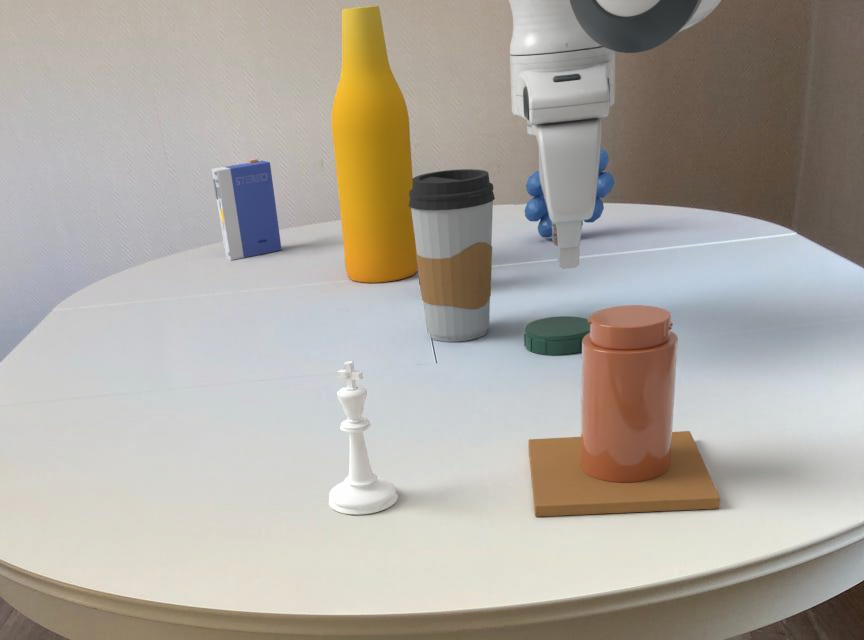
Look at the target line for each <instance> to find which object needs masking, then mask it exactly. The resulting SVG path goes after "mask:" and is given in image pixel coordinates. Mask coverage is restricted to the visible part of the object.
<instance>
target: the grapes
mask: <svg viewBox="0 0 864 640" xmlns="http://www.w3.org/2000/svg"><path fill="white" fill-rule="evenodd" d="M609 161H610V159H609V154H608V152H607V151H606V150H605V149H603V148H600V160H599V172H598V183H597V193H596V200H595V207H594V211H593V215H592V217H591V218H590V219H588V220H582V226H583V225H584V222H585V223H594V222H595V221H597V220H598V219H600V218H601V216H602V213H603V211H604V209H605V207H604V202H603V200H602V199H603V198H605V197H606V196H608V195H609V194H611V192H612V190H613V187H614V185H615V178H614V176H613V174H611V173H610V172H608V171H605V170H606V169H607V166H608V164H609ZM525 188H526V192H527V194H528V195H529V196H530V197H532V198H531V199H530V200H528V202H526V205H525V208H524V216H525V218H526V220H527V221H529V222H538V224H537V233H538V234H539V236H540V237H542V238H544V239H545V238H546V239H547V238H552V221H551V220H550V217H549V213H548V209H547V205H546V202H545V198H544V194H543V191H542V187H541V183H540V177H539V170H537V171H535V172H533V173H532V174H531V175H529V176H528V179H527V181H526V185H525ZM601 198H602V199H601Z"/></svg>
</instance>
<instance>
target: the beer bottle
mask: <svg viewBox="0 0 864 640" xmlns="http://www.w3.org/2000/svg"><path fill="white" fill-rule="evenodd" d="M382 21H383V20H382V15H381V11H380V6H379V5H370V6H359V7H350V8H349V7H348V8H343V9H341V72H340V78H339V80H338V85H337V87H336V91H335V94H334V98H333V103H332V108H331V121H330V122H331V134H332V141H333V142H332V143H333V153H334V163H335V172H336V173H335V174H336V181H337V182H336V183H337V192H338V201H339V213H340V221H341V230H342V240H343V241H342V242H343V254H344V255H343V256H344V266H345V272H346V275H347V276H348V278H349V279H350V280H351V281H353V282H358V283H365V284H366V283H367V284H375V283H378V284H379V283H387V282H396V281H399V280H404V279H407V278H409V277H413V276H414V275H415V274H416V273H417V272H418V265H417V257H416V242H415V235H414V227H413V219H412V211H411V207H409V200H410V197H409V191H410V190H412V183H413V178H414V177H413V162H412V146H411V133H410V130H411V129H410V116H409V111H408V106H407V103H406V99H405V97H404V95H403V92H402V90H401V87H400V85H399V84H398V82H397V80H396V77H395V75H394V74H393V71H392V69H391V65H390V61H389V55H388V51H387V45H386V40H385V33H384V27H383V22H382Z"/></svg>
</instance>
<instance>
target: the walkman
mask: <svg viewBox="0 0 864 640" xmlns="http://www.w3.org/2000/svg"><path fill="white" fill-rule="evenodd" d="M211 173H212V178H213V179H212V183H213V189H214V196H215V200H216V205H217V210H218V216H219V222H220V229H221V235H222V243H223V248H224V254H225V258H227V260H229V261H234V260H235V261H236V260H239V259H244V258H249V257H254V256H255V257H256V256H259V255H264V254H269V253H274V252H279V251H283V250H282V242H281V235H280V227H279V220H278V219H279V218H278V213H277V205H276V197H275V189H274V183H273V182H274V181H273V175H272V174H273V173H272V168H271V162H270V161H265V160H259V159H258V158H254V159H253V158H252V159H249V160H248V162H245V163H239V164H234V165H227V166H221V167H215V168H211Z"/></svg>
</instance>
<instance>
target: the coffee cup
mask: <svg viewBox="0 0 864 640" xmlns="http://www.w3.org/2000/svg"><path fill="white" fill-rule="evenodd" d="M409 197H410V200H409V207H411V211H412V219H413V227H414V235H415V242H416V257H417V265H418V269H417V273H418V281H419V280H420V285H419V286H420V295H421V301H422V303H423V311H424V317H425V318H424V320H425V327H426V331H427V332H428V333H429V337H430V338H431V339H432V340H434V341H438V342H445V343H457V342H458V343H459V342H468V341H472V340H475V339H479V338H481V337H483V336H485V335H486V333H487V329H488V328H489V327H490V312H491V311H490V309H491V308H490V307H491V306H490V305H491V297H492V296H491V295H492V267H493V265H492V264H493V246H492V245H493V244H492V241H493V213H494V212H493V205H494V200H495V199H496V198H495V193H494V184H493V183H492V182H491V181H490V174H489V171H487V170H483V169H474V168H473V169H472V168H471V169H470V168H469V169H464V168H463V169H461V168H460V169H447V170H439V171H433V172H426V173H423V174H419V175H416V176H414V177H413V183H412V190H410V191H409Z"/></svg>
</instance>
